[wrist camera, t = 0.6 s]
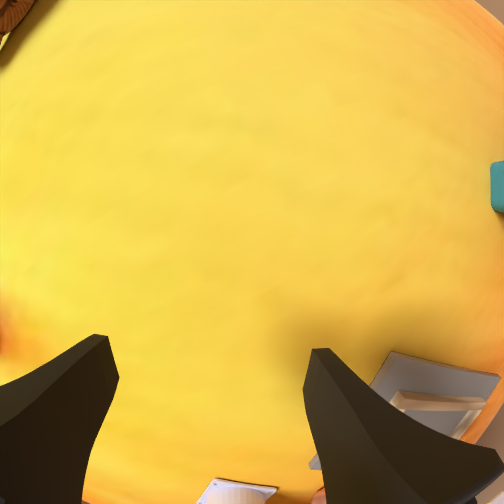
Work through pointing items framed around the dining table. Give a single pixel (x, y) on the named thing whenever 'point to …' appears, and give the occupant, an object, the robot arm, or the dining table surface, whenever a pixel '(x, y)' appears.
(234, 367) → the dining table surface
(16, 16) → the wooden carving
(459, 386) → the jig board
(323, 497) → the pale wooden bar
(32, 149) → the dining table surface
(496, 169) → the block
